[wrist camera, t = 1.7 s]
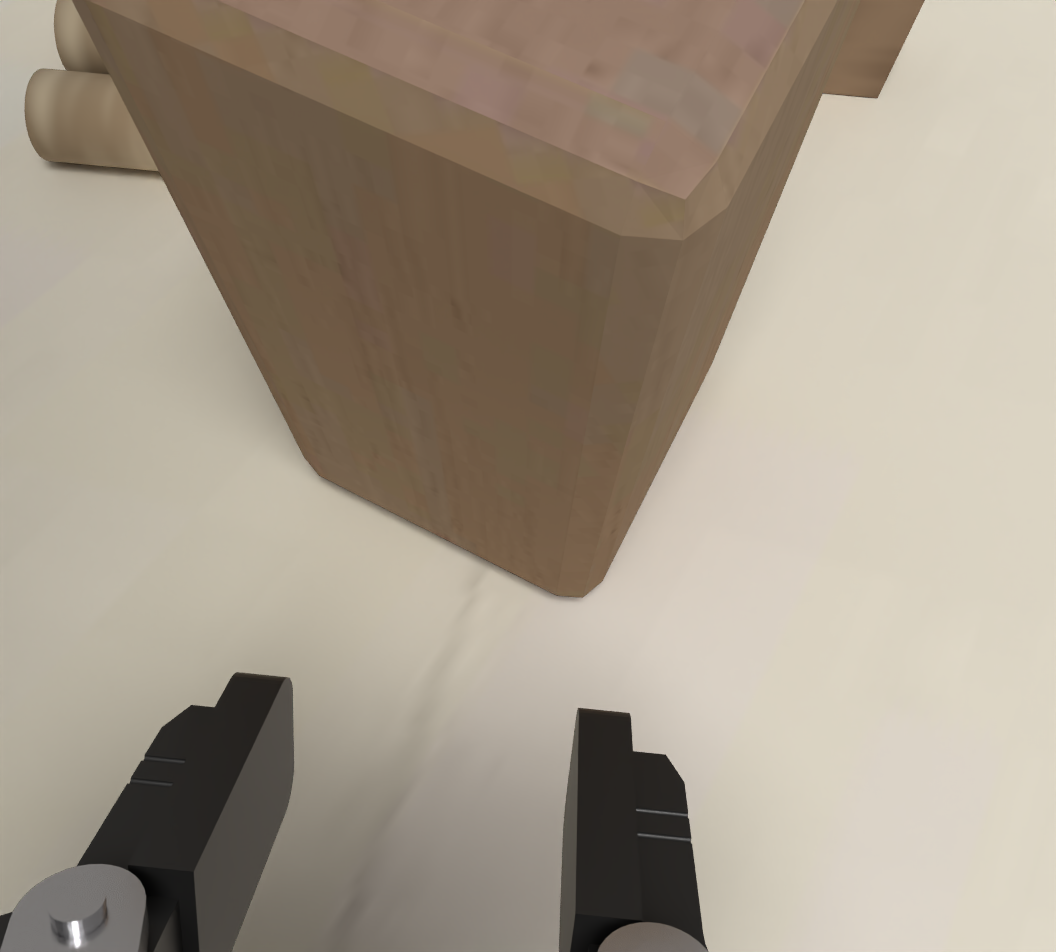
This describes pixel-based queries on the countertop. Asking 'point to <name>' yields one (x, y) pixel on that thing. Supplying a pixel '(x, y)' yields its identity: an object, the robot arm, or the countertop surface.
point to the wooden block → (479, 230)
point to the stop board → (872, 46)
